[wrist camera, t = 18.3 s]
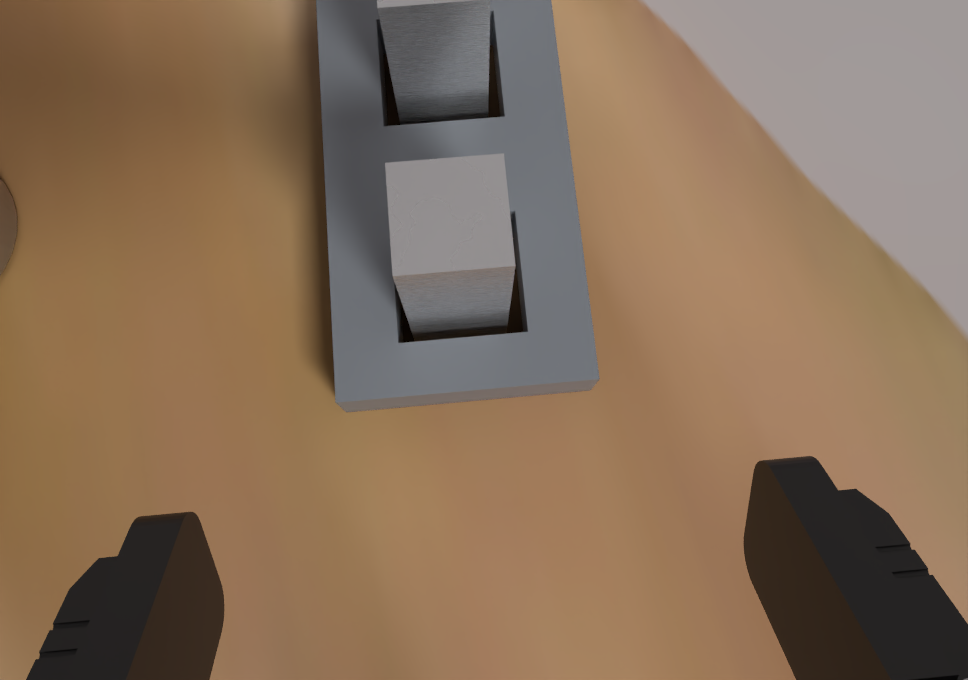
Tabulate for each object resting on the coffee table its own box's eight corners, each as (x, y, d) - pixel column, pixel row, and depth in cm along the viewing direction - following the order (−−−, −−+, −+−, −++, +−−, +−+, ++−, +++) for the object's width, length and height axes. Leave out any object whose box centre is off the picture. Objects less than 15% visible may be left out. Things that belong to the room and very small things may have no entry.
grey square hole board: (590, 390, 39) (599, 378, 36) (346, 412, 39) (335, 402, 36) (542, 1, 44) (546, -36, 41) (326, 18, 44) (315, -19, 41)
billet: (505, 337, 40) (515, 265, 29) (416, 344, 40) (392, 276, 29) (497, 252, 41) (503, 153, 30) (409, 259, 41) (385, 162, 30)
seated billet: (487, 133, 42) (490, -1, 32) (403, 140, 42) (377, 7, 31) (480, 59, 43) (480, -96, 33) (397, 65, 43) (371, -88, 33)
